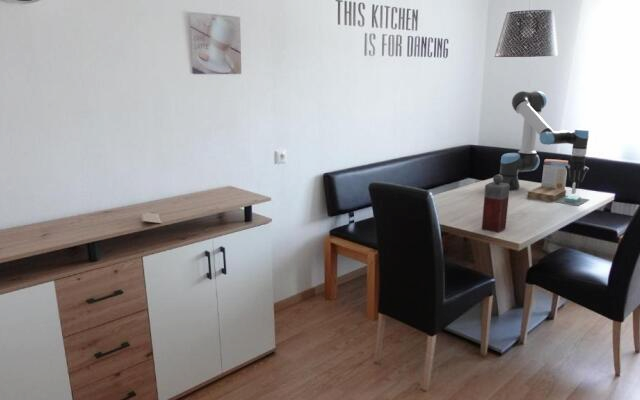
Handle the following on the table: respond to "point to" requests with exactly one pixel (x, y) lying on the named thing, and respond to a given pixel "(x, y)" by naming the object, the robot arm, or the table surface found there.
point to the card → (572, 199)
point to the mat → (562, 200)
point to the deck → (546, 193)
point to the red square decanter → (495, 205)
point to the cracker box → (554, 174)
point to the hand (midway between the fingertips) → (573, 193)
